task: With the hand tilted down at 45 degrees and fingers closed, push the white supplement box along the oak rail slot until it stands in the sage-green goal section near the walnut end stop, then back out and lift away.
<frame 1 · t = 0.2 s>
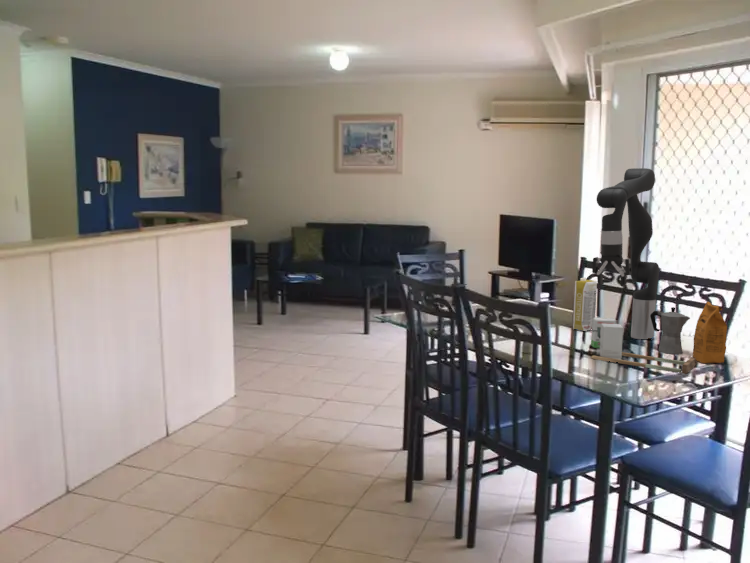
hand: (611, 285, 256), 28 cm above the table, tool pointing down, fingers open, 8 cm apart
coffee package: (707, 361, 258), on the table
coffeepot: (667, 351, 273), on the table
juice carton: (583, 330, 311), on the table
supplement box: (610, 357, 263), on the table
beam slot: (610, 357, 262), on the table
ink box: (602, 347, 279), on the table
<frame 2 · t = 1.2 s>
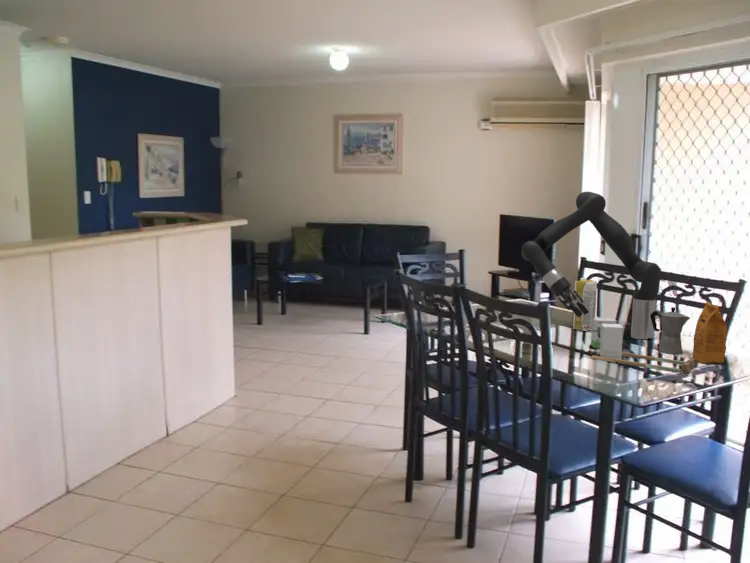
hand: (583, 314, 267), 15 cm above the table, tool tilted 45°, fingers open, 6 cm apart
nothing on the table moved.
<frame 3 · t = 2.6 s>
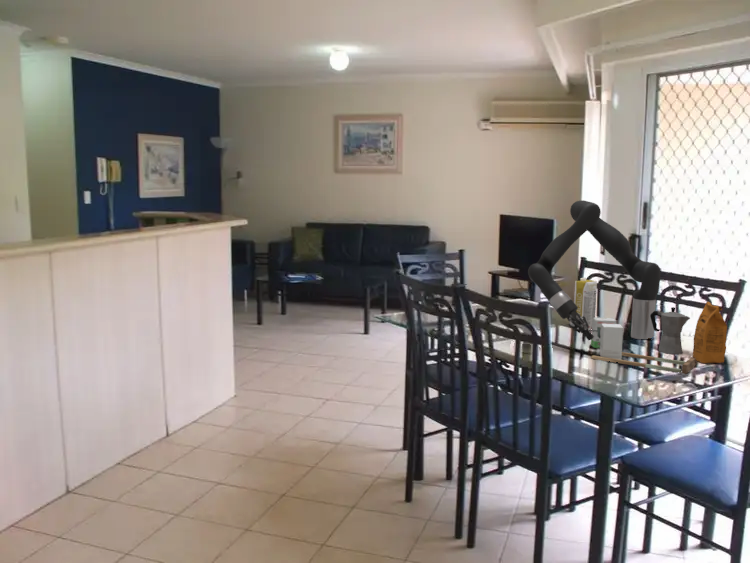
hand: (591, 338, 266), 6 cm above the table, tool tilted 45°, fingers closed
nothing on the table moved.
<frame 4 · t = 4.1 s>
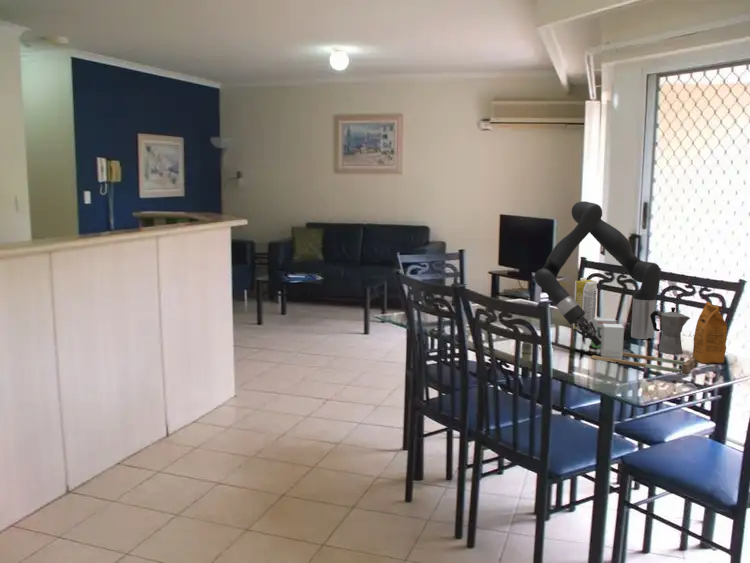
hand: (599, 344, 265), 4 cm above the table, tool tilted 45°, fingers closed
supplement box: (611, 357, 262), on the table, touching gripper
everything else where it was.
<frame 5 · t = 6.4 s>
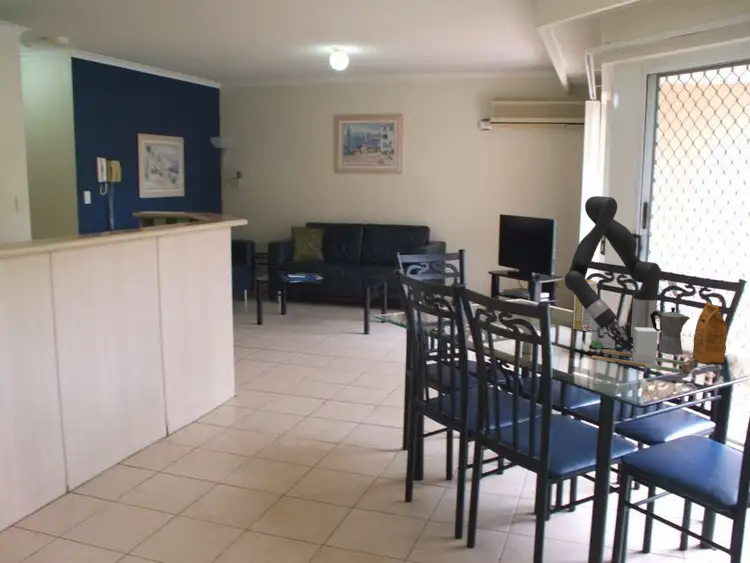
hand: (631, 349, 257), 4 cm above the table, tool tilted 45°, fingers closed
supplement box: (643, 362, 256), on the table, touching gripper
everything else where it was.
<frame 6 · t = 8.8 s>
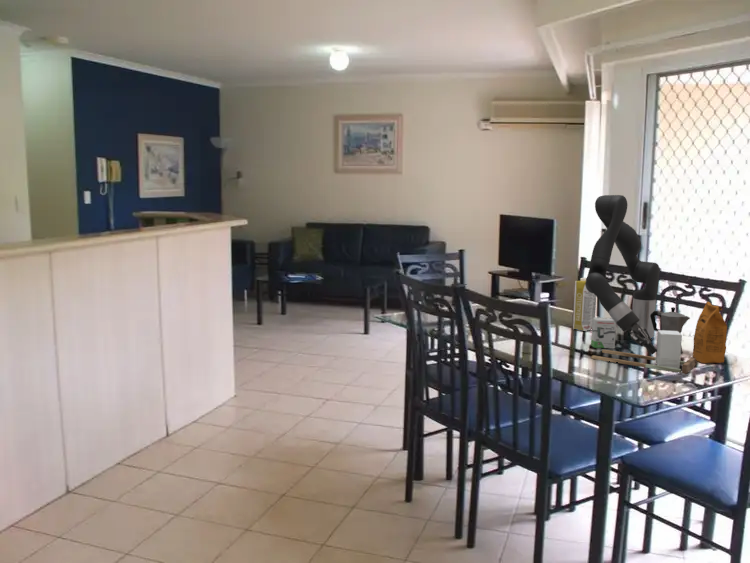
hand: (654, 352, 252), 4 cm above the table, tool tilted 45°, fingers closed
supplement box: (667, 366, 251), on the table, touching gripper
everything else where it was.
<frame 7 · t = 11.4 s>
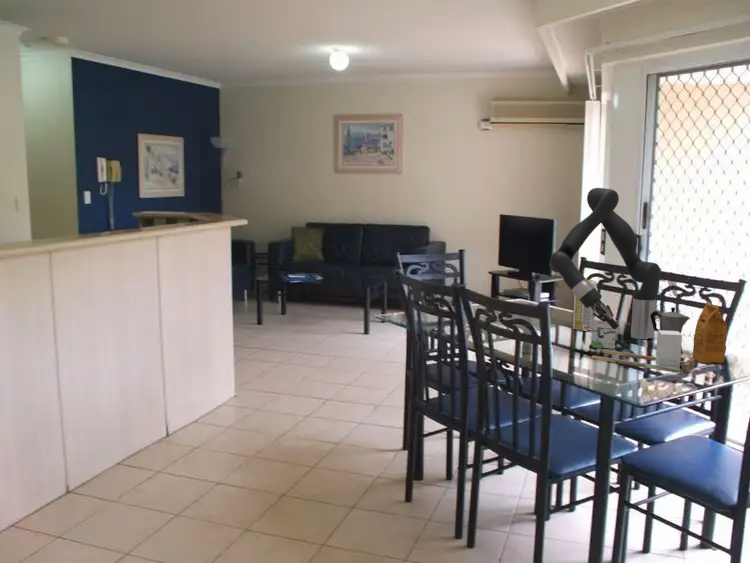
hand: (616, 327, 260), 12 cm above the table, tool tilted 45°, fingers closed
supplement box: (667, 366, 251), on the table
everything else where it was.
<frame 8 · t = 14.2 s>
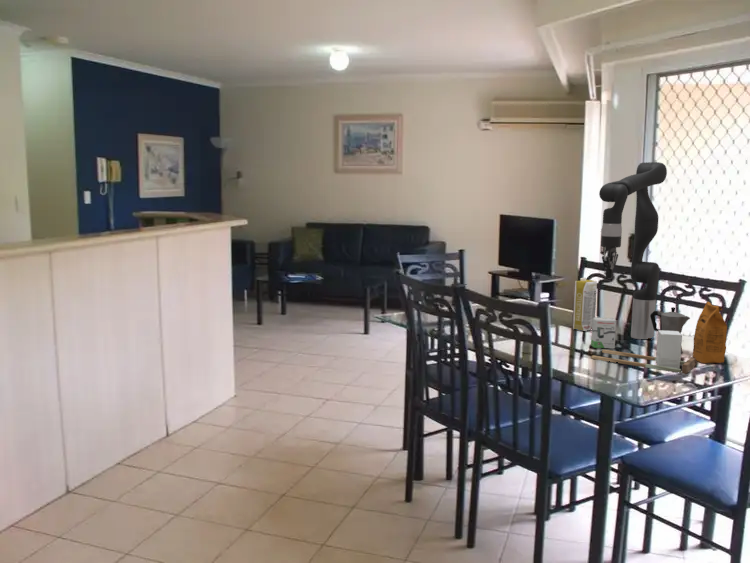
hand: (609, 278, 271), 29 cm above the table, tool pointing down, fingers closed
nothing on the table moved.
at the end: supplement box inside the target area (0.7 cm from its centre), on the table; supplement box tilted 0°; the gripper is holding nothing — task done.
